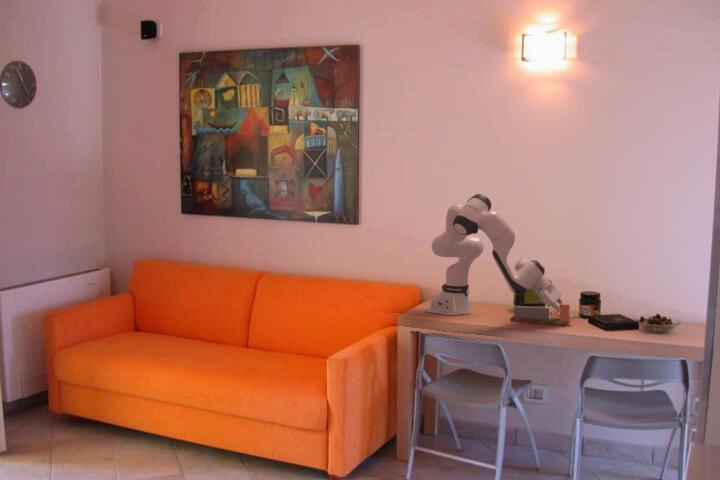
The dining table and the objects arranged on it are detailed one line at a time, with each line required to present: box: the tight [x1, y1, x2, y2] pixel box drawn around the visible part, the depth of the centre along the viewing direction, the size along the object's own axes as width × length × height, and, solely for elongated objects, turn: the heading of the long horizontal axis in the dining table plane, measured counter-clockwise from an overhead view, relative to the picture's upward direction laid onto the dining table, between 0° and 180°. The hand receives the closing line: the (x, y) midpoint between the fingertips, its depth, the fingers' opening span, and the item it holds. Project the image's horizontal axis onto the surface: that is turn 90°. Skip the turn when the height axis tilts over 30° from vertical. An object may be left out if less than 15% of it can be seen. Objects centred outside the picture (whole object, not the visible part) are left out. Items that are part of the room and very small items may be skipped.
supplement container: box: [578, 290, 602, 320], centre depth 382 cm, size 10×10×12 cm
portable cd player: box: [587, 313, 640, 332], centre depth 364 cm, size 16×17×4 cm
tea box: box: [512, 288, 546, 311], centre depth 395 cm, size 15×10×15 cm, turn 84°
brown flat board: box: [510, 314, 570, 327], centre depth 373 cm, size 26×10×2 cm, turn 65°
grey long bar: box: [514, 306, 550, 320], centre depth 374 cm, size 16×2×5 cm, turn 65°
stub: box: [559, 302, 571, 322], centre depth 367 cm, size 4×2×8 cm, turn 65°
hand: (562, 308), depth 368 cm, fingers open, 8 cm apart
